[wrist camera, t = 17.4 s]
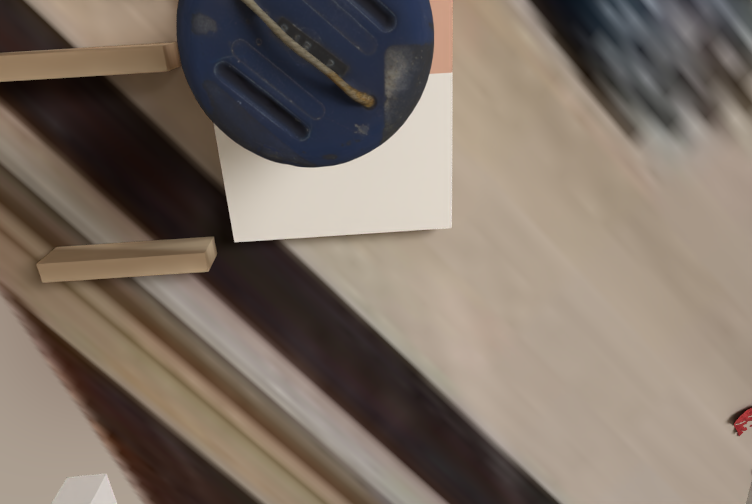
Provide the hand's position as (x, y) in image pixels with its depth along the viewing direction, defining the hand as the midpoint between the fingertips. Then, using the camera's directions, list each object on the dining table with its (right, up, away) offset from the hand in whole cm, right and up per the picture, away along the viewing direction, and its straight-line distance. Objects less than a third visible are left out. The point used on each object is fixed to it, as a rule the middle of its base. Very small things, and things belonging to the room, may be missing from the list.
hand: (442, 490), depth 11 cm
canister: (-5, +19, +24) cm, 31 cm away
